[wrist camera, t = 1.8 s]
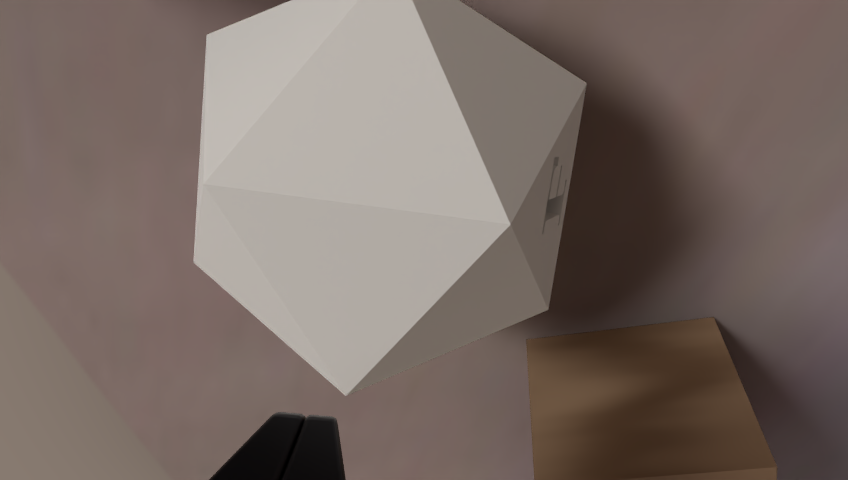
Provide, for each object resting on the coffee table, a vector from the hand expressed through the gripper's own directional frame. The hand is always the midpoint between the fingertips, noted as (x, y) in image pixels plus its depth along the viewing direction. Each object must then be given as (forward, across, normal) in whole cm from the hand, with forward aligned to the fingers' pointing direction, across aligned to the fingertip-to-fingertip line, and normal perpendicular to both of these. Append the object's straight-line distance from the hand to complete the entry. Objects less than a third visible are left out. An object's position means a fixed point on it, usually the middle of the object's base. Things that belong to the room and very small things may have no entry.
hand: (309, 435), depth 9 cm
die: (+12, 0, 0) cm, 12 cm away
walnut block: (+12, -8, +10) cm, 17 cm away
